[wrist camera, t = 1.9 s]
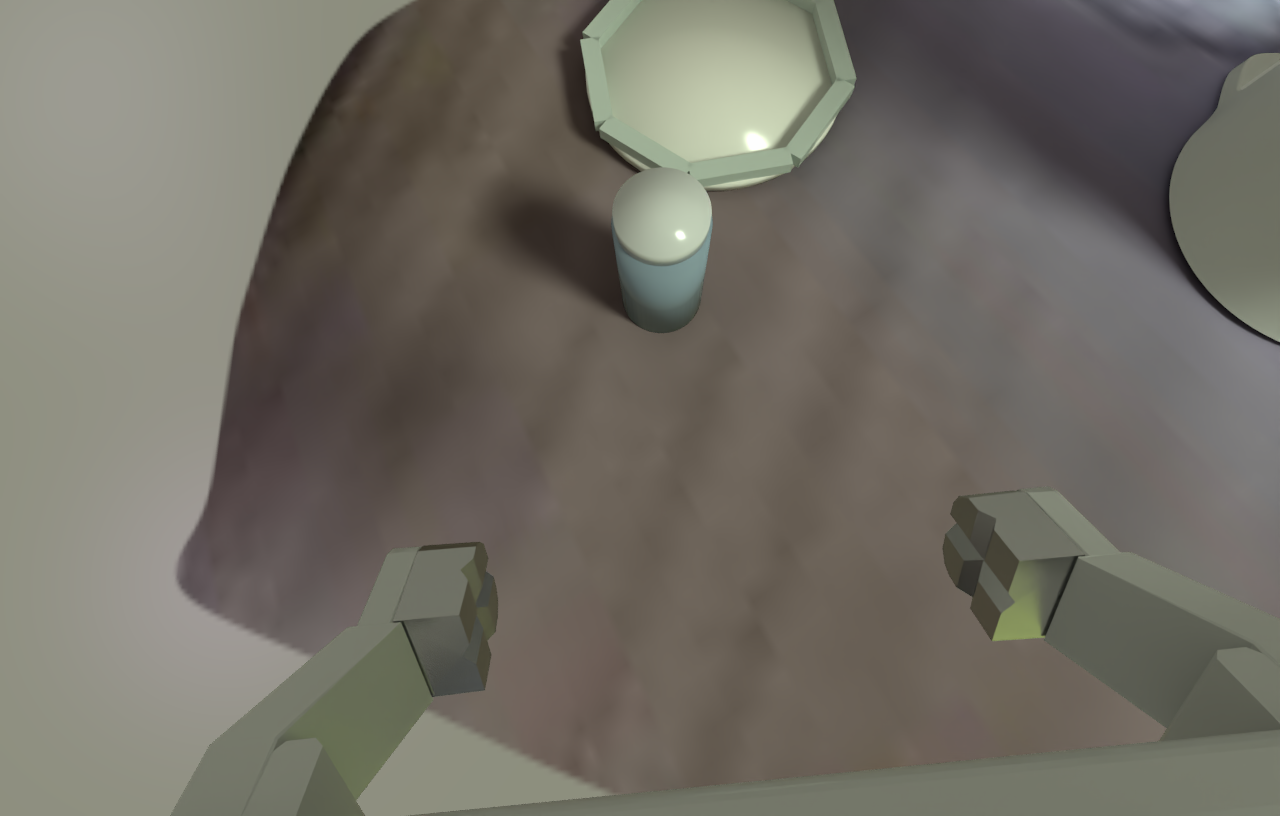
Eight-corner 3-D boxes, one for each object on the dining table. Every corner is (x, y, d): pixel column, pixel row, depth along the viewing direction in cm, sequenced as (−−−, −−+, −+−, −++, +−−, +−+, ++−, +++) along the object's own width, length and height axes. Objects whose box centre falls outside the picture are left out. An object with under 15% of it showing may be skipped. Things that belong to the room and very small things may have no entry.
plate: (808, -38, 36) (815, -67, 34) (868, 171, 32) (879, 151, 31) (571, 1, 35) (567, -26, 34) (608, 215, 32) (605, 196, 31)
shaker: (693, 254, 32) (703, 157, 24) (707, 325, 31) (723, 249, 23) (616, 266, 32) (602, 174, 24) (629, 339, 31) (618, 267, 23)
